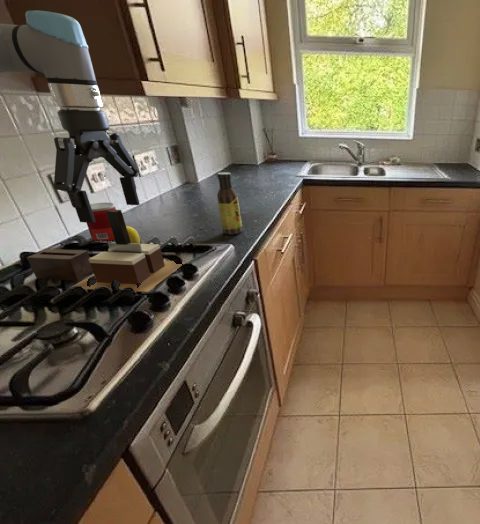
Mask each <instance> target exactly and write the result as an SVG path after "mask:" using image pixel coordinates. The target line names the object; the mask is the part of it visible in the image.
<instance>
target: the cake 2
mask: <svg viewBox="0 0 480 524" xmlns="http://www.w3.org/2000/svg"><path fill="white" fill-rule="evenodd" d="M130 244H137V243H130ZM140 246H141V249H142V252H143V253H144V254H145V258H146V261H147V265H148V268H149V271H150V273H155V272H157V271H158V270H160V269H161V268H162V267H164V266H165V264H164V261H165V260H164V257H163V253H162V249H161V246H160V244H159V243H158V244H157V243H140ZM107 252H110V249H109V248H108V249H107Z"/></svg>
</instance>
